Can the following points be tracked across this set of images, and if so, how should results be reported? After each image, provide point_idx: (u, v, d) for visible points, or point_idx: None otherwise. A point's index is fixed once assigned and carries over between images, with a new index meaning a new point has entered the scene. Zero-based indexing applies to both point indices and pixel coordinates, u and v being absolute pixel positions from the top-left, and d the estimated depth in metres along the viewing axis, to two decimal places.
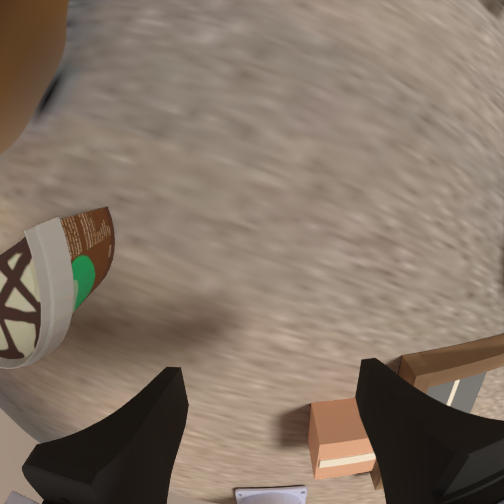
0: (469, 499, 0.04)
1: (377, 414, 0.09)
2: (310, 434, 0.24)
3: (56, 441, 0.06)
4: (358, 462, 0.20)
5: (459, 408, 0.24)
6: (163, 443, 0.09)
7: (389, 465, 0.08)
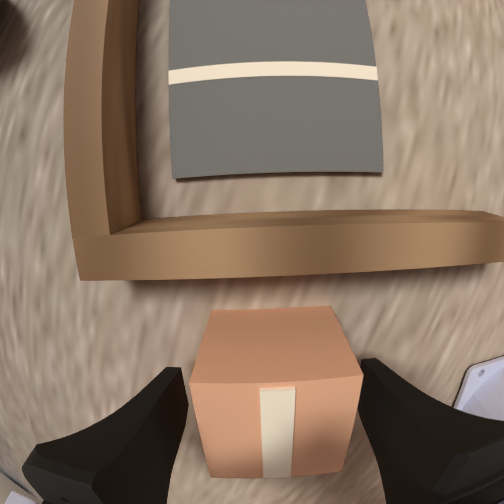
0: (468, 499, 0.04)
1: (377, 414, 0.09)
2: None
3: (56, 441, 0.06)
4: (298, 419, 0.09)
5: (309, 26, 0.10)
6: (163, 443, 0.09)
7: (389, 465, 0.08)
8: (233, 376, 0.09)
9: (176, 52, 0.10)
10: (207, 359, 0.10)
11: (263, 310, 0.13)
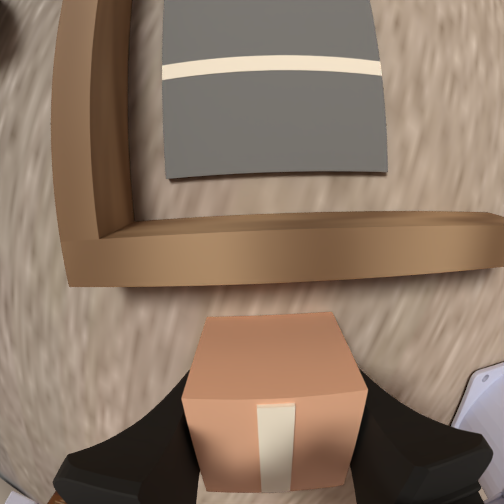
0: None
1: None
2: None
3: (88, 450, 0.06)
4: (298, 435, 0.08)
5: (309, 19, 0.09)
6: None
7: (359, 471, 0.08)
8: (228, 392, 0.08)
9: (170, 46, 0.09)
10: (201, 372, 0.09)
11: (261, 317, 0.12)
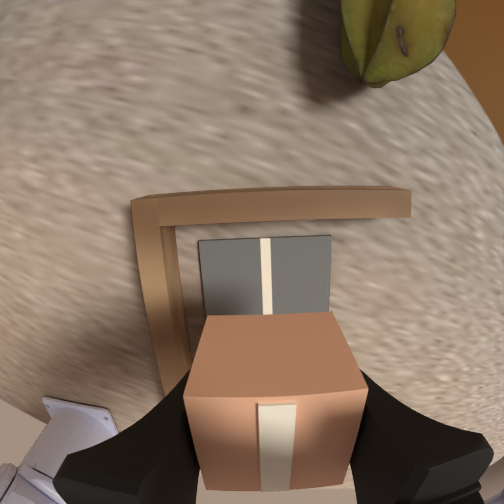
0: None
1: None
2: None
3: (88, 450, 0.06)
4: (298, 434, 0.08)
5: None
6: (192, 445, 0.09)
7: (360, 471, 0.08)
8: (230, 389, 0.08)
9: (283, 243, 0.19)
10: (202, 370, 0.09)
11: (262, 316, 0.12)
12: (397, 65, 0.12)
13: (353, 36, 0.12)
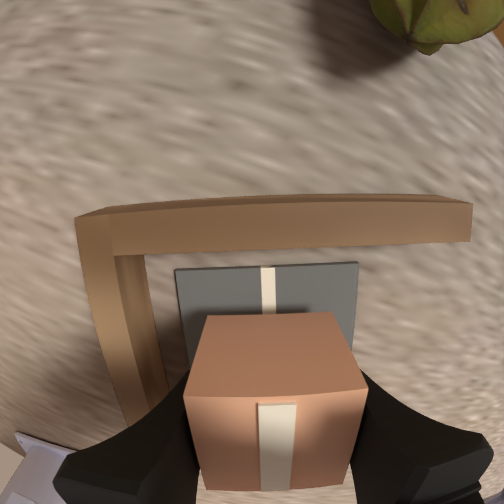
0: None
1: None
2: None
3: (88, 450, 0.06)
4: (299, 434, 0.08)
5: None
6: (192, 445, 0.09)
7: (360, 471, 0.08)
8: (230, 390, 0.08)
9: (293, 273, 0.14)
10: (202, 370, 0.09)
11: (262, 316, 0.12)
12: (456, 23, 0.07)
13: None
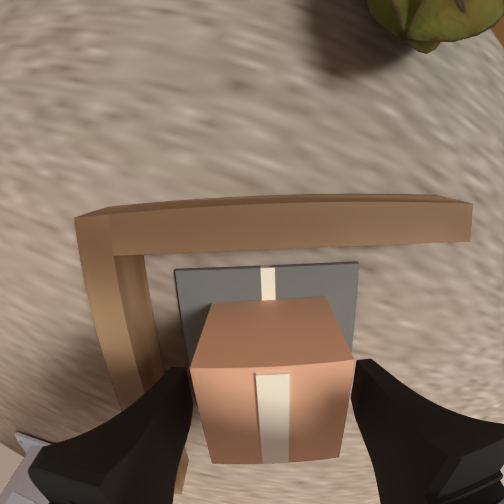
0: (463, 502, 0.04)
1: (372, 415, 0.09)
2: None
3: (62, 443, 0.06)
4: (293, 403, 0.09)
5: None
6: (169, 444, 0.09)
7: (383, 467, 0.08)
8: (230, 362, 0.09)
9: (292, 273, 0.14)
10: (207, 347, 0.10)
11: (261, 302, 0.14)
12: (452, 21, 0.07)
13: None
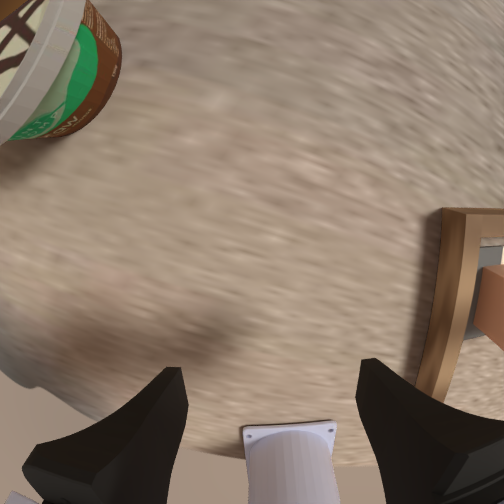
0: (469, 499, 0.04)
1: (377, 414, 0.09)
2: None
3: (56, 441, 0.06)
4: None
5: None
6: (163, 443, 0.09)
7: (389, 465, 0.08)
8: None
9: None
10: None
11: (502, 265, 0.19)
12: None
13: None
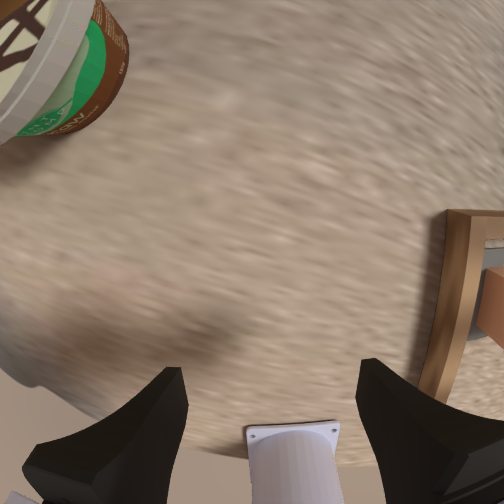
0: (469, 499, 0.04)
1: (377, 414, 0.09)
2: None
3: (56, 441, 0.06)
4: None
5: None
6: (163, 443, 0.09)
7: (389, 465, 0.08)
8: None
9: None
10: None
11: None
12: None
13: None
